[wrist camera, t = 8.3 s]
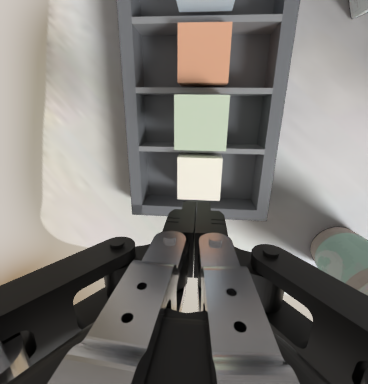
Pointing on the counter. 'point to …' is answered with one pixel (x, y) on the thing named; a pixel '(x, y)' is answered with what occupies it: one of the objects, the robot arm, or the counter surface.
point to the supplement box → (358, 7)
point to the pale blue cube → (204, 5)
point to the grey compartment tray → (237, 89)
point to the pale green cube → (201, 122)
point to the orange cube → (204, 54)
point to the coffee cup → (342, 256)
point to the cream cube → (199, 176)
